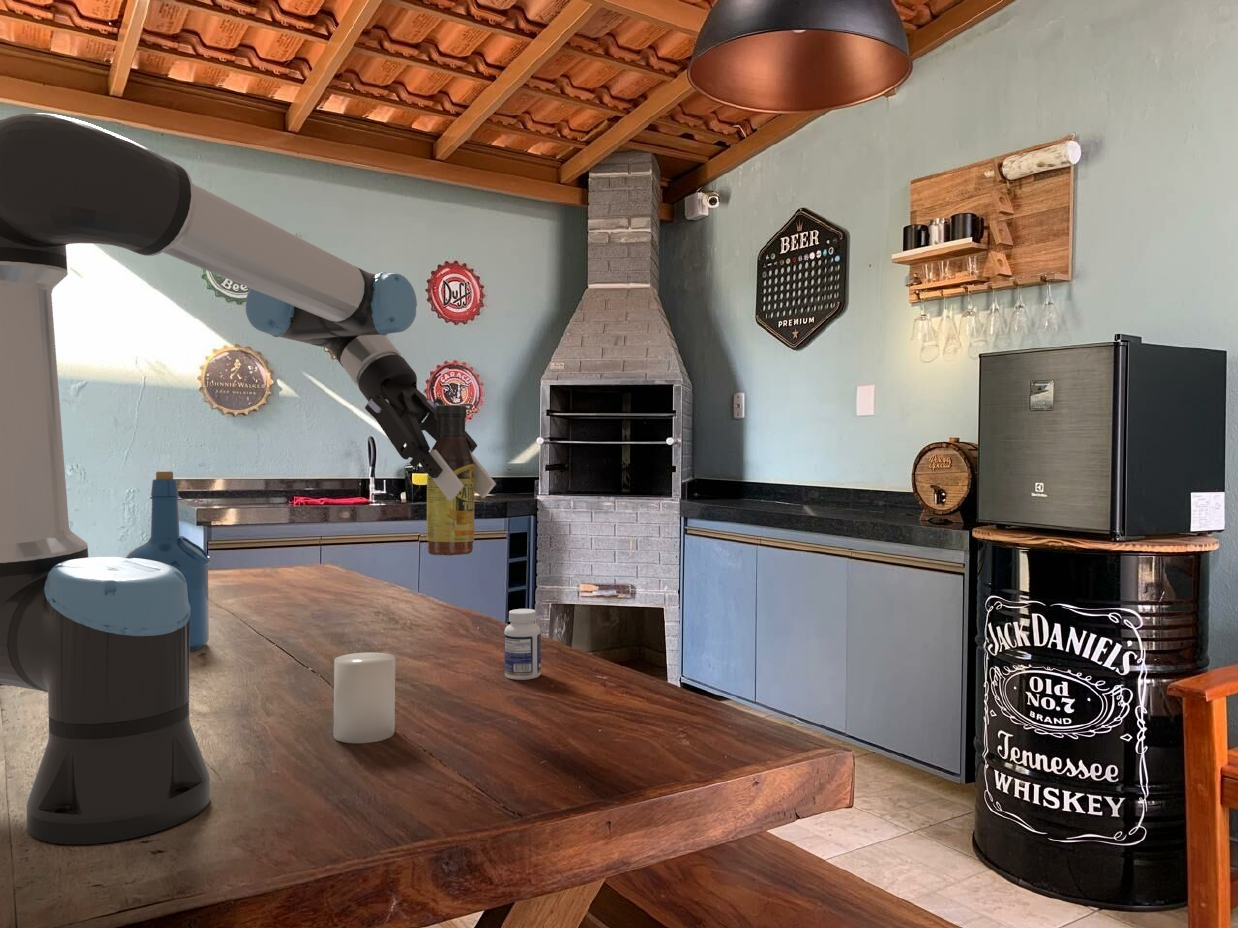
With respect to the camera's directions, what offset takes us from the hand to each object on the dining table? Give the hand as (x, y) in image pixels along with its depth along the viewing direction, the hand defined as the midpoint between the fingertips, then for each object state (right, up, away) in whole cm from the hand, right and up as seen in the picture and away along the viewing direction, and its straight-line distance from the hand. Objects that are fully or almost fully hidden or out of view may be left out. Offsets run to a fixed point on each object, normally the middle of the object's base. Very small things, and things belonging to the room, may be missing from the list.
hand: (472, 491), depth 123 cm
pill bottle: (+5, -28, +16) cm, 33 cm away
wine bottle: (-57, -28, +35) cm, 72 cm away
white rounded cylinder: (-11, -29, -12) cm, 33 cm away
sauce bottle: (-3, -9, +2) cm, 9 cm away
